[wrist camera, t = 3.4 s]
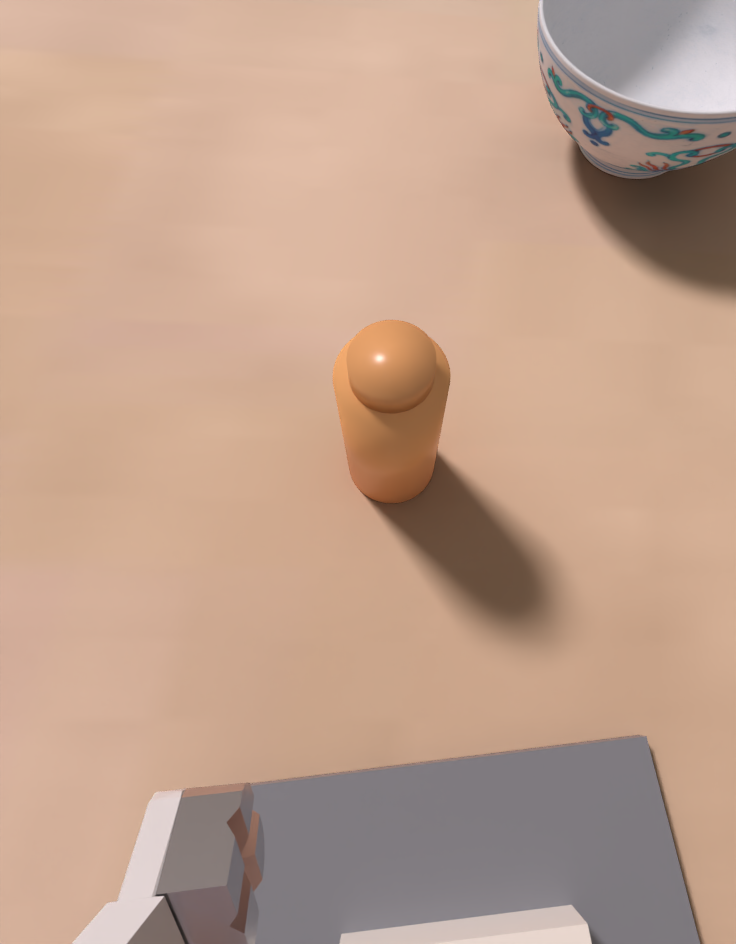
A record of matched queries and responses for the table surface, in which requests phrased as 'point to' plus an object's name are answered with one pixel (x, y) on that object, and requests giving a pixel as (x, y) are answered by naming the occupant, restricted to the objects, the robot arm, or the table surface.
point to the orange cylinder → (391, 408)
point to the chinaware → (642, 80)
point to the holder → (475, 852)
